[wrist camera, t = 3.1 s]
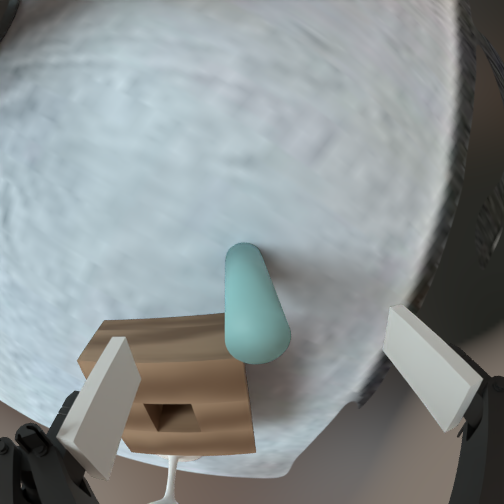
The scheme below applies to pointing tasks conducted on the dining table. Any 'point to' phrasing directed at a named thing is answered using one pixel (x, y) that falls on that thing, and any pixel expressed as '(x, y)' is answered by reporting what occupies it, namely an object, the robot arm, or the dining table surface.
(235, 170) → the dining table surface
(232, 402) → the socket block
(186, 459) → the wineglass
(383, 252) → the dining table surface
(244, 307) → the dowel
